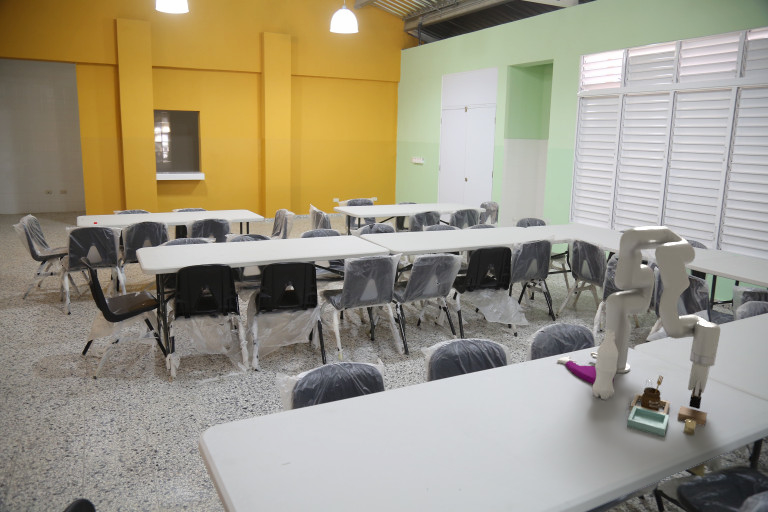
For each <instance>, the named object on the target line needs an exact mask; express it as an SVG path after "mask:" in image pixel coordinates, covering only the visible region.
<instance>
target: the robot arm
mask: <svg viewBox="0 0 768 512" xmlns="http://www.w3.org/2000/svg"><path fill="white" fill-rule="evenodd" d="M642 250H654V255H655V261H656V264H657V268H658V271H659V275H660V278H661V279H660V280H661V283H662V287H663V291H662V294H661V296H660V299H659V305H658V306H659V307H658V313H659V318H660V322H661V324H662V325H661V326H662V328H663V331H664V333H665V334H666V335H667V337H669V338H671V339H683V338H692V343H691V349H690V350H691V351H690V356H689V361H691V367H690V375H689V379H688V380H689V381H688V387H687V389H688V391H692V392H691V394H690V400H689V403H688V404H689V405H688V406H689V407H690V408H692V409H696V410H700V407H701V402H702V394H703V393H705V389H706V386H707V383H708V378H709V374H710V368H711V367H713V366H715V364H716V357H717V352H718V348H719V341H720V336H721V326H719V325H718V324H717V323H715V322H712V321H711V322H710V321H707V319H704V318H703V317H702V316H699V315H697V314H685V315H683V314H682V315H679V311H678V301H679V298H680V296H681V295H682V294H683V292H684V291H686V289H688V288H689V287H690V284H691V283H690V279H689V276H688V271H687V268H686V265H689V264H691V263H692V262H694V260H695V258H696V252H695V248H694V247H693V245H692V244H691V243H690V242H689V241H687V240H686V239H685V238H683V237H682V236H681V235H679V234H678V233H677V232H675V231H674V230H672V229H670V228H669V227H667V226H663V225H661V226H660V225H659V226H658V225H657V226H656V225H655V226H640V227H639V226H638V227H633V228H630V229H627V230H625V231H624V232H623V233H622V234H621V236H620V240H619V250H618V258H617V263H616V268H615V273H614V281H613V282H614V285H615V287H616V288H617V289H619V290H622V291H616V292H613V293H611V294H610V295H608V296H607V298H606V299H605V311H606V313H605V317H606V318H605V319H606V320H605V329H604V336H605V334H606V330H613V331H615V335H614V336H615V339H614V342H615V345H616V347H617V350H618V359H617V367H616V368H617V370H616V373H615V374H624V373H629V371H630V370H631V365H630V364H629V363H628V354H629V347H630V339H631V334H632V333H631V332H632V331H631V330H632V325H631V321H630V319H629V318H630V317H629V316H633V315H639V314H642V313H645V312H647V310H649V307H650V304H651V302H652V301H651V300H652V297H653V291H654V286H655V282H656V281H655V280H656V277H655V273H654V270H653V269H652V267H650V266H649V265H647V264H643V263H642V262H643V253H642ZM604 336H603V337H604ZM604 339H605V337H604V338H603V340H604ZM590 357H592V359H594V360H595V359H596V358H597V351H596V352H595V351H591V352H590Z"/></svg>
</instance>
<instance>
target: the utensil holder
mask: <svg viewBox="0 0 768 512" xmlns="http://www.w3.org/2000/svg"><path fill="white" fill-rule="evenodd" d="M663 379H664V376H662V375H660V374H659V375H658V378H657V381H656V384H657V386H656V388H655V387H653V384H654V383H653V381H652V380H646V382H645V383H644V384H645V388H644V389H643V393H642V394H641V395H642V399H641V401H640V407H644V408H648V409H652V410H656V411H659V410H660V408H661V406H660V400H662V399H661V390H660V389H659V386H661V385H662V382H663ZM649 382H650V383H651V385H650V386H648V385H647V383H649ZM659 412H660V411H659Z"/></svg>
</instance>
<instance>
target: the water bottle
mask: <svg viewBox="0 0 768 512" xmlns="http://www.w3.org/2000/svg"><path fill="white" fill-rule="evenodd" d="M604 335H605V336H603V337H605V339H604V338H603V341H602V342H601V343H600V345H599V347H598V348H597V351H596V353H597V358H596V360H595V365H594V367H595V368H596V380H595V383H594V384H592V392H593V396H594V397H596V398H599V397H600V399H602V400H608V399H611V398H612V397H613V395H614V391H615V390H614V385H613V383H614V382H613V377H614V376H615V375H616V374H617V373H616V370H617V368H616V367H617V359H618V350H617V347H616V345H615V342H614V339H615V336H614V335H615V331H613V330H606V334H605V333H604ZM614 378H615V377H614Z"/></svg>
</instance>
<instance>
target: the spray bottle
mask: <svg viewBox="0 0 768 512" xmlns="http://www.w3.org/2000/svg"><path fill="white" fill-rule="evenodd" d="M557 363H558V364H559V363H560V364H563V365H565V366H566V367H567V369H568V370H569V371H570V372H571V373H572V374H573V375H575V376H576V377H578V378H580V379H581V380H583V381H585V382H587V383H588V384H591V385H593V384H594V383H595V380H596V368H595V366H593V365H579V364H577V361H576V360H574V359H572V357H571V356H565V357H559V358H557ZM614 381H615V377H613V383H614Z"/></svg>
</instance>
